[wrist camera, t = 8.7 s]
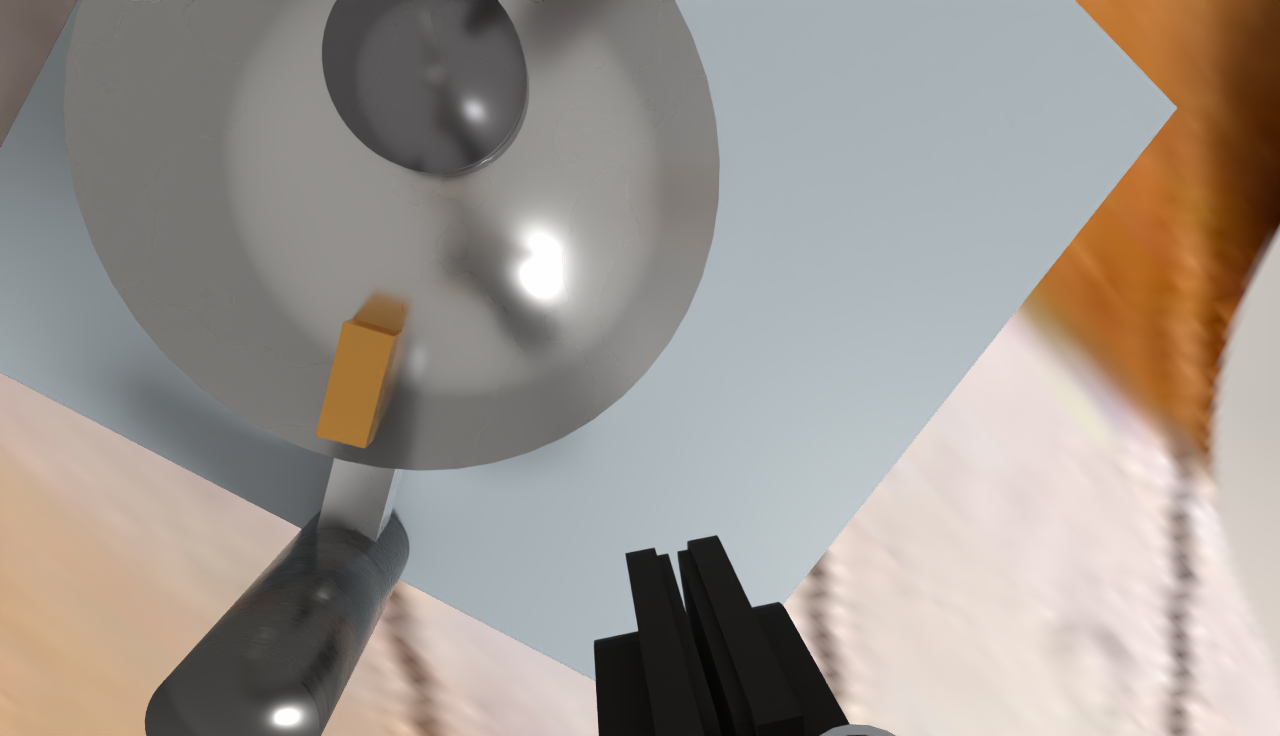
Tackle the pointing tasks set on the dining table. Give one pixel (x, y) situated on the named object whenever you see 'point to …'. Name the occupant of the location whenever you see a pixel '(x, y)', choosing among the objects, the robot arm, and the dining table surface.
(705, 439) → the level board
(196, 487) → the dining table surface
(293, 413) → the dial
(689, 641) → the robot arm
